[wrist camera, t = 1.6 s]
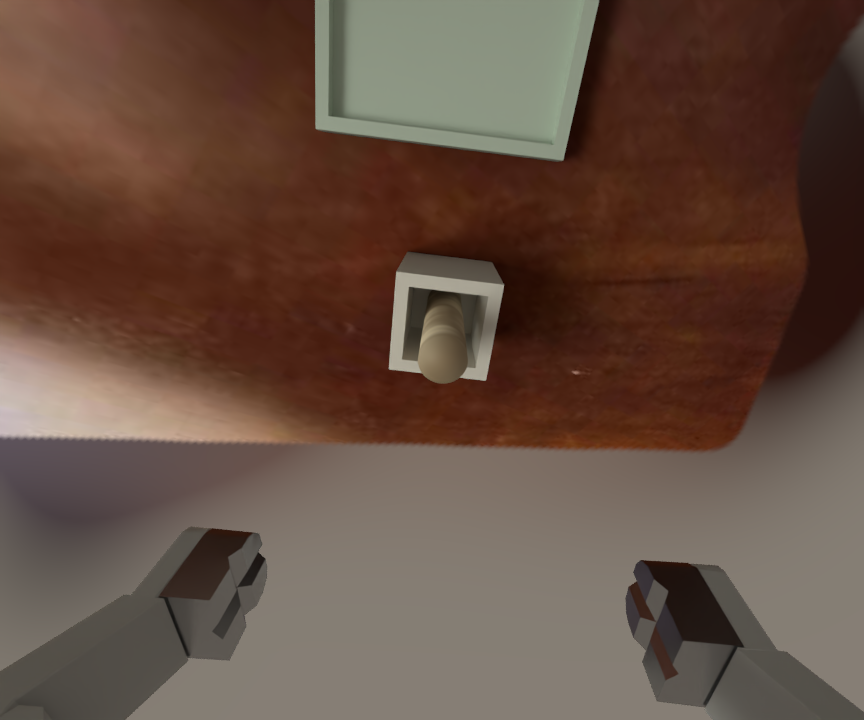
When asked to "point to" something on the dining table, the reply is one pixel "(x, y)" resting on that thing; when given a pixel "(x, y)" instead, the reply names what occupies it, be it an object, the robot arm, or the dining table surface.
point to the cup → (451, 275)
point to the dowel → (443, 338)
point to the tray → (453, 72)
